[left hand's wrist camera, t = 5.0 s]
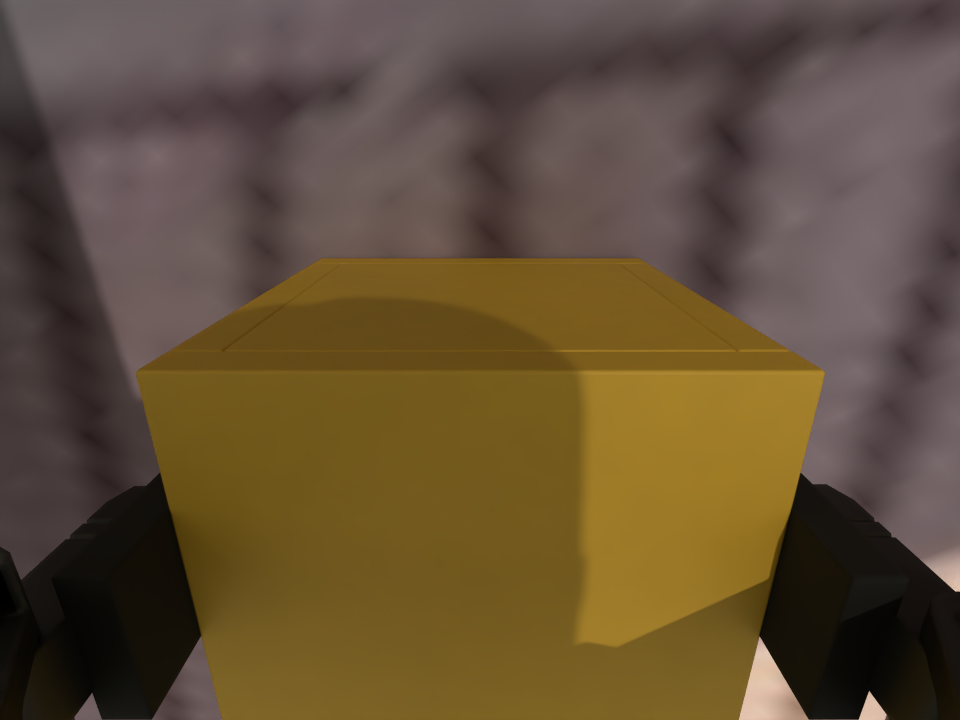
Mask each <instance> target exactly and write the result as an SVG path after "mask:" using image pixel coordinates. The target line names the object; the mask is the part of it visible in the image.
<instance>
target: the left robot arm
mask: <svg viewBox="0 0 960 720" xmlns="http://www.w3.org/2000/svg"><path fill="white" fill-rule="evenodd" d="M200 637H201V633H200V629H199V625H198V621H197V617H196V613H195V609H194V605H193V601H192V597H191V593H190V589H189V585H188V581H187V577H186V573H185V569H184V565H183V561H182V557H181V553H180V549H179V545H178V541H177V537H176V533H175V529H174V525H173V521H172V517H171V513H170V509H169V505H168V501H167V497H166V493H165V489H164V485H163V481H162V477H161V473H159V474H158V475H157V476H156V477H155V478H154V479H153V480H152V481H151V482H150V483H149V484H148V485H147V486H134V487H132V488H131V489H129V490H127V491H125V492H124V493H122V494H120V495H118V496H116V497H115V498H113V499H111V500H109V501H108V502H106V503H105V504H104V505H103V506H102V507H101V508H100V509H99V510H98V511H97V512H95V513H94V514H93V515H92V516H91V517H90V518H89V519H88V520H87V523H86V524H82V525H81V526H80V527H79V528H78V529H77V530H76V531H75V532H73V533H72V534H71V535H70V539H66V540H65V541H64V542H63V543H61V544H60V545H59V546H58V547H57V548H56V549H55V550H54V551H53V552H52V553H50V554H49V555H48V556H47V557H46V558H45V559H44V560H43V561H42V562H41V563H39V564H38V565H37V566H36V567H35V568H34V569H33V570H32V571H31V572H30V573H28V574H27V575H26V576H25V577H24V578H23V579H22V580H20V577H19V575H18V572H17V569H16V567H15V564H14V562H13V559H12V557H11V554H10V552H8V551H6V550H4V549H3V548H1V547H0V720H75V718H74V717H75V715H76V714H77V713H78V711H79V710H80V708H81V707H82V706H83V704H84V703H85V702H86V700H87V699H88V698H89V696H90V695H91V693H93V696H94V699H95V701H96V704H97V707H98V710H99V712H100V715H101V718H102V720H152V718H153V717H154V715H155V713H156V711H157V710H158V708H159V706H160V705H161V703H162V701H163V700H164V698H165V696H166V694H167V693H168V691H169V689H170V688H171V686H172V684H173V683H174V681H175V679H176V678H177V676H178V674H179V672H180V671H181V669H182V667H183V666H184V664H185V662H186V661H187V659H188V657H189V655H190V654H191V652H192V650H193V649H194V647H195V645H196V644H197V642H198V640H199V638H200ZM760 638H761V639H762V641H763V643H764V644H765V646H766V648H767V649H768V651H769V653H770V654H771V656H772V658H773V660H774V661H775V663H776V665H777V666H778V668H779V670H780V671H781V673H782V675H783V677H784V678H785V680H786V682H787V683H788V685H789V687H790V688H791V690H792V692H793V694H794V695H795V697H796V699H797V700H798V702H799V704H800V705H801V707H802V709H803V710H804V712H805V714H806V716H807V717H808V719H809V720H859V717H860V714H861V712H862V709H863V706H864V703H865V701H866V698H867V695H868V692H869V691H870V692H871V694H872V695H873V697H874V698H875V699H876V701H877V702H878V703H879V705H880V706H881V707H882V709H883V710H884V711H885V713H886V714H887V716H886V718H885V720H960V592H955V591H954V590H953V589H952V588H951V587H950V586H949V585H947V584H946V583H945V582H944V581H943V580H942V579H941V578H940V577H939V576H937V575H936V574H935V573H934V572H933V571H932V570H931V569H930V568H929V567H928V566H926V565H925V564H924V563H923V562H922V561H921V560H920V559H919V558H918V557H916V556H915V555H914V554H913V553H912V552H911V551H910V550H909V549H908V548H907V547H905V546H904V545H903V544H902V543H901V542H900V541H899V540H898V539H897V538H892V537H891V533H890V532H889V531H888V530H887V529H885V528H884V527H883V526H882V525H881V524H880V523H879V522H875V521H874V518H873V517H872V516H871V515H870V514H869V513H868V512H867V511H866V510H864V509H863V508H862V507H861V506H860V505H859V504H858V503H857V502H856V501H854V500H853V499H851V498H850V497H848V496H846V495H844V494H842V493H841V492H839V491H837V490H835V489H834V488H832V487H830V486H828V485H826V484H812V483H811V482H810V481H809V480H808V479H807V478H806V477H805V476H804V475H803V474H801V473H800V476H799V480H798V484H797V488H796V492H795V496H794V500H793V504H792V508H791V512H790V516H789V520H788V524H787V528H786V532H785V536H784V540H783V544H782V548H781V552H780V556H779V560H778V564H777V568H776V572H775V576H774V580H773V584H772V588H771V592H770V596H769V600H768V604H767V608H766V612H765V616H764V620H763V624H762V628H761V632H760Z"/></svg>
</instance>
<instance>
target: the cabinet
mask: <svg viewBox="0 0 960 720" xmlns="http://www.w3.org/2000/svg"><path fill="white" fill-rule="evenodd" d="M824 376H825V372H824V370H822V369H820V368H819V367H817V366H815V365H814V364H812V363H810V362H809V361H807V360H806V359H804V358H802V357H801V356H799V355H797V354H796V353H794V352H790V351H789V350H788V349H787V348H785V347H783V346H782V345H780V344H779V343H777V342H775V341H774V340H772V339H770V338H769V337H767V336H765V335H764V334H762V333H760V332H759V331H757V330H756V329H754V328H752V327H751V326H749V325H747V324H746V323H744V322H742V321H741V320H739V319H737V318H736V317H734V316H733V315H731V314H729V313H728V312H726V311H724V310H723V309H721V308H719V307H718V306H716V305H714V304H713V303H711V302H710V301H708V300H706V299H705V298H703V297H701V296H700V295H698V294H696V293H695V292H693V291H692V290H690V289H688V288H687V287H685V286H683V285H682V284H680V283H678V282H677V281H675V280H673V279H672V278H670V277H669V276H667V275H665V274H664V273H662V272H660V271H659V270H657V269H655V268H654V267H652V266H650V265H649V264H647V263H646V262H644V261H642V260H641V259H639V258H322V259H320V260H318V261H317V262H315V263H313V264H311V265H310V266H308V267H307V268H305V269H303V270H302V271H300V272H298V273H297V274H295V275H293V276H292V277H290V278H288V279H287V280H285V281H284V282H282V283H280V284H279V285H277V286H275V287H274V288H272V289H270V290H269V291H267V292H265V293H264V294H262V295H260V296H259V297H257V298H256V299H254V300H252V301H251V302H249V303H247V304H246V305H244V306H242V307H241V308H239V309H237V310H236V311H234V312H233V313H231V314H229V315H228V316H226V317H224V318H223V319H221V320H219V321H218V322H216V323H214V324H213V325H211V326H209V327H208V328H206V329H205V330H203V331H201V332H200V333H198V334H196V335H195V336H193V337H191V338H190V339H188V340H186V341H185V342H183V343H182V344H180V345H178V346H177V347H175V348H173V349H172V350H171V351H170V352H167V353H165V354H163V355H162V356H160V357H158V358H157V359H155V360H154V361H152V362H150V363H149V364H147V365H145V366H144V367H142V368H140V369H139V370H137V372H136V377H137V381H138V385H139V389H140V393H141V397H142V401H143V405H144V409H145V413H146V417H147V421H148V425H149V429H150V433H151V437H152V441H153V445H154V449H155V453H156V457H157V461H158V465H159V469H160V473H161V477H162V481H163V485H164V489H165V493H166V497H167V501H168V505H169V509H170V513H171V517H172V521H173V525H174V529H175V533H176V537H177V541H178V545H179V549H180V553H181V557H182V561H183V565H184V569H185V573H186V577H187V581H188V585H189V589H190V593H191V597H192V601H193V605H194V609H195V613H196V617H197V621H198V625H199V629H200V633H201V637H202V641H203V645H204V649H205V653H206V657H207V661H208V665H209V669H210V673H211V677H212V681H213V685H214V689H215V693H216V697H217V701H218V705H219V709H220V713H221V717H222V720H739V716H740V712H741V708H742V704H743V700H744V696H745V692H746V688H747V684H748V680H749V676H750V672H751V668H752V664H753V660H754V656H755V652H756V648H757V644H758V640H759V636H760V632H761V628H762V624H763V620H764V616H765V612H766V608H767V604H768V600H769V596H770V592H771V588H772V584H773V580H774V576H775V572H776V568H777V564H778V560H779V556H780V552H781V548H782V544H783V540H784V536H785V532H786V528H787V524H788V520H789V516H790V512H791V508H792V504H793V500H794V496H795V492H796V488H797V484H798V480H799V476H800V472H801V468H802V464H803V460H804V456H805V452H806V448H807V444H808V440H809V436H810V432H811V428H812V424H813V420H814V416H815V412H816V408H817V404H818V400H819V396H820V392H821V388H822V384H823V380H824Z"/></svg>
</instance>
